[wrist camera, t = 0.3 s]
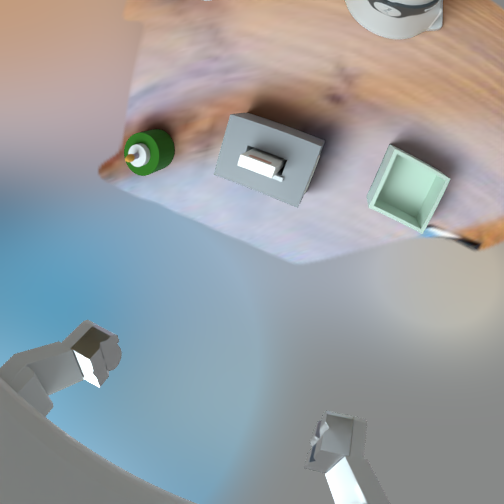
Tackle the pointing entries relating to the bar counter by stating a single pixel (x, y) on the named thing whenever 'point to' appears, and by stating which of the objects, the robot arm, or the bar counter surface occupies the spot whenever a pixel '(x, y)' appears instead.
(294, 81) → the bar counter surface
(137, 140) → the candle
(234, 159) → the block
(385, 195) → the stub box
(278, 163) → the pale bar
